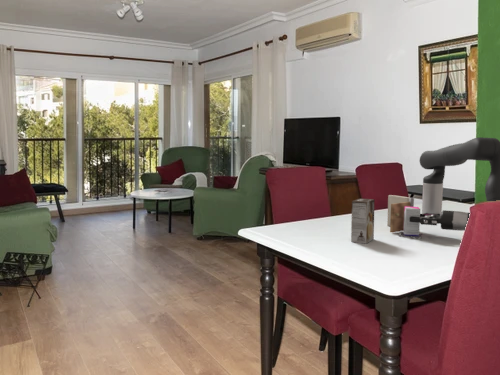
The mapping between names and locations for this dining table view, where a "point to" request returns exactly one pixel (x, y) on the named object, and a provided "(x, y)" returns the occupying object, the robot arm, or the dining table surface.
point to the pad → (410, 236)
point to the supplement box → (408, 226)
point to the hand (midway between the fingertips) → (411, 217)
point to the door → (397, 216)
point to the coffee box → (362, 220)
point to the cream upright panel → (397, 199)
